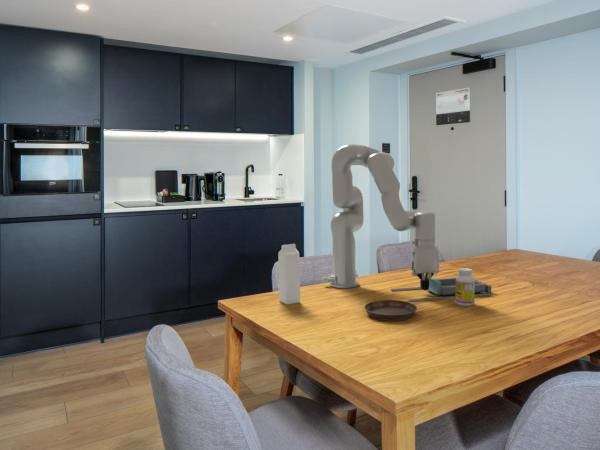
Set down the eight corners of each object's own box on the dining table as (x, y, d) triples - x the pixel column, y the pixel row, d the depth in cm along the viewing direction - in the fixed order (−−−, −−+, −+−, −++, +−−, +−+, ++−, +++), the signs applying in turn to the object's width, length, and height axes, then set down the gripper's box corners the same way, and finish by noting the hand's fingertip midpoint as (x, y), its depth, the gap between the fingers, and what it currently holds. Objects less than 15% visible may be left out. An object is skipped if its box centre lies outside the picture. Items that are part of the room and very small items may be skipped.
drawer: (439, 297, 192) (439, 282, 191) (422, 289, 206) (422, 275, 205) (485, 294, 196) (485, 279, 196) (466, 286, 210) (466, 272, 209)
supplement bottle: (452, 301, 186) (452, 267, 185) (469, 301, 187) (470, 267, 186) (459, 306, 180) (460, 271, 178) (477, 306, 180) (478, 270, 179)
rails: (409, 301, 187) (409, 294, 187) (390, 290, 205) (390, 283, 205) (495, 295, 195) (495, 287, 195) (470, 284, 212) (470, 278, 212)
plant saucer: (382, 326, 160) (382, 316, 160) (354, 312, 177) (354, 303, 176) (427, 318, 168) (427, 309, 167) (397, 305, 184) (397, 297, 183)
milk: (300, 302, 190) (299, 244, 187) (286, 304, 187) (285, 246, 184) (292, 298, 195) (292, 242, 193) (278, 301, 192) (277, 244, 190)
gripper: (411, 245, 191) (411, 293, 193) (447, 243, 194) (446, 290, 196) (403, 243, 198) (403, 288, 200) (438, 241, 201) (437, 286, 203)
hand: (424, 289), depth 198 cm, fingers closed
